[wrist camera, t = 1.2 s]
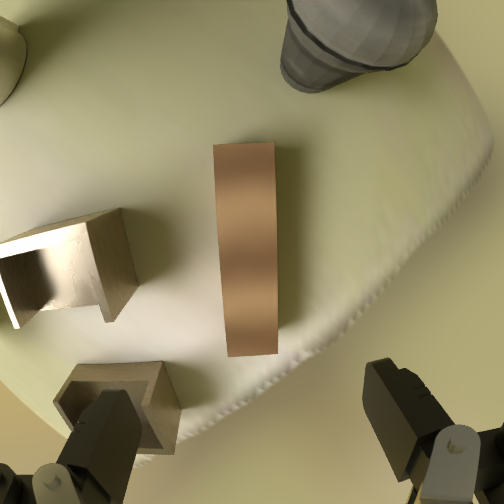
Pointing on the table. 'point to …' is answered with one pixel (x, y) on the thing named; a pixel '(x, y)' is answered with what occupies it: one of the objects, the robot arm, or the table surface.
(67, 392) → the bracket
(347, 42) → the beverage cup
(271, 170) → the rail
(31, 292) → the bracket
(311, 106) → the table surface
